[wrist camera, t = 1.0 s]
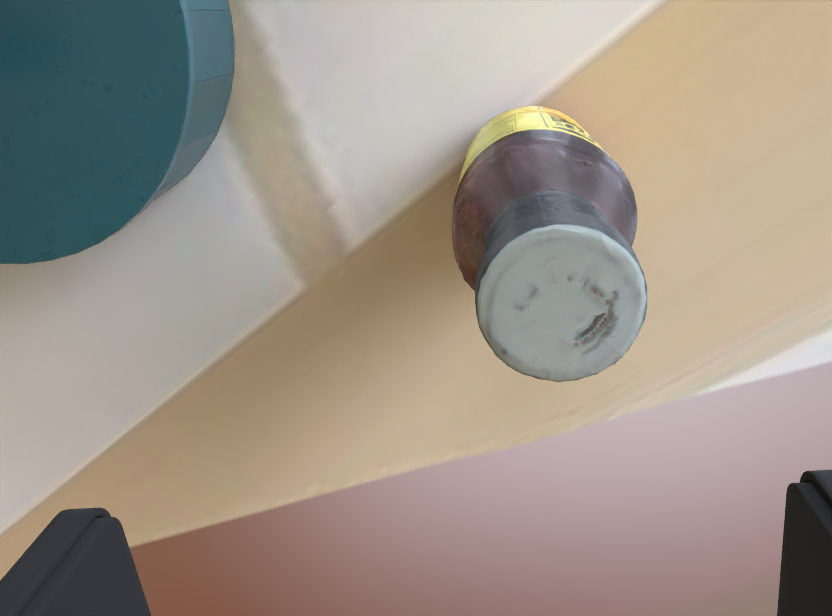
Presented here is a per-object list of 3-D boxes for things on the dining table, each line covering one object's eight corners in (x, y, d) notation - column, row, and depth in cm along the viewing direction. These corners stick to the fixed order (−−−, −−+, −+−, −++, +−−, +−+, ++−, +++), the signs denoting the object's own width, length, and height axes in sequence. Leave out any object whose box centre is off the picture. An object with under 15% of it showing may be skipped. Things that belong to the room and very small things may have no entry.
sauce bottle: (610, 199, 36) (745, 395, 17) (492, 247, 37) (502, 476, 19) (562, 72, 34) (659, 141, 15) (439, 128, 35) (393, 254, 17)
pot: (-166, -187, 32) (-315, -233, 26) (222, -177, 31) (160, -223, 25) (-79, 202, 39) (-181, 237, 33) (244, 222, 38) (199, 261, 32)
